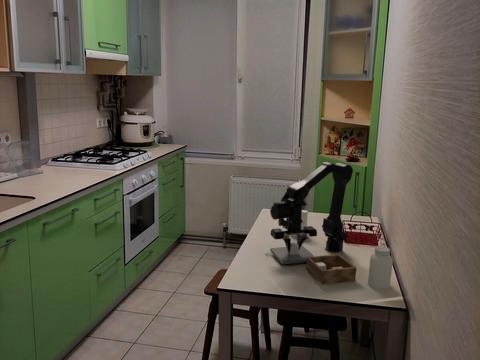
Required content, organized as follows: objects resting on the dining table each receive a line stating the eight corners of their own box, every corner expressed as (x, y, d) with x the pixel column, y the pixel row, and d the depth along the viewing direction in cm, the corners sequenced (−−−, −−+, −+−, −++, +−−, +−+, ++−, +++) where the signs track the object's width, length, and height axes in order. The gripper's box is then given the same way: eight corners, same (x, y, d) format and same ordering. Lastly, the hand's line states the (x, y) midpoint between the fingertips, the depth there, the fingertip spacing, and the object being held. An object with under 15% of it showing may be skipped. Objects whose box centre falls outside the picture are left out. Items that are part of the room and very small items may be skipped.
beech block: (340, 273, 182) (341, 266, 182) (345, 278, 178) (346, 270, 178) (331, 274, 181) (331, 267, 180) (336, 279, 177) (336, 271, 177)
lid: (302, 248, 205) (302, 236, 204) (316, 261, 191) (317, 249, 190) (270, 250, 202) (270, 239, 200) (282, 264, 187) (282, 252, 186)
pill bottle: (386, 293, 168) (390, 254, 165) (364, 287, 172) (368, 249, 169) (392, 285, 175) (396, 247, 172) (371, 280, 179) (374, 243, 176)
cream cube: (321, 270, 185) (322, 261, 184) (325, 273, 182) (326, 265, 181) (313, 271, 184) (314, 262, 183) (317, 274, 181) (318, 266, 180)
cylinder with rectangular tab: (309, 233, 231) (310, 209, 229) (301, 238, 224) (303, 214, 221) (293, 229, 236) (294, 206, 233) (285, 234, 229) (286, 210, 226)
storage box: (337, 268, 190) (338, 254, 188) (355, 282, 176) (356, 267, 175) (306, 271, 186) (306, 257, 185) (321, 286, 173) (322, 271, 171)
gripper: (307, 209, 203) (305, 243, 206) (266, 212, 198) (265, 246, 201) (318, 217, 192) (316, 252, 196) (275, 220, 187) (274, 256, 191)
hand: (292, 251), depth 196 cm, fingers closed on lid, 3 cm apart
